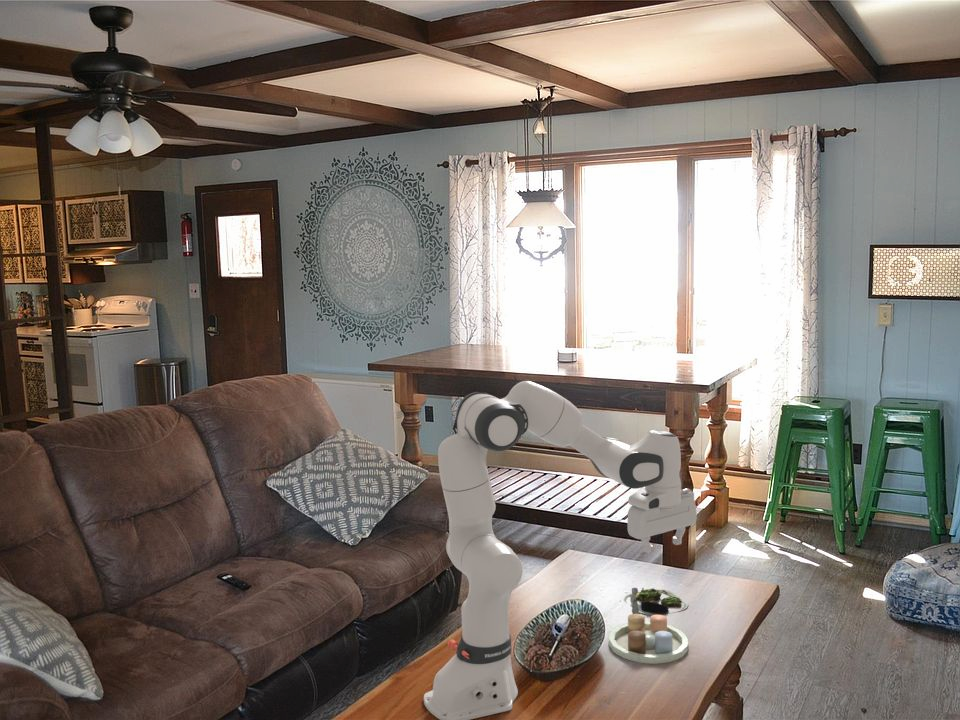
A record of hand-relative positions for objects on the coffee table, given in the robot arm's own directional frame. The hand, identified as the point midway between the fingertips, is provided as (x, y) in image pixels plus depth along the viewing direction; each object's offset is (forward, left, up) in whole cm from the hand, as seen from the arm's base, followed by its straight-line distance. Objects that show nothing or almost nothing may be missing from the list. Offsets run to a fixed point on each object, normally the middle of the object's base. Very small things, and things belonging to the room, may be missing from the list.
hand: (663, 548), depth 212 cm
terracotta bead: (+5, +8, -28) cm, 29 cm away
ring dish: (0, +6, -29) cm, 30 cm away
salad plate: (+19, +24, -30) cm, 42 cm away
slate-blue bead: (0, 0, -28) cm, 28 cm away
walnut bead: (-6, +4, -28) cm, 29 cm away
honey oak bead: (+1, +11, -28) cm, 30 cm away
